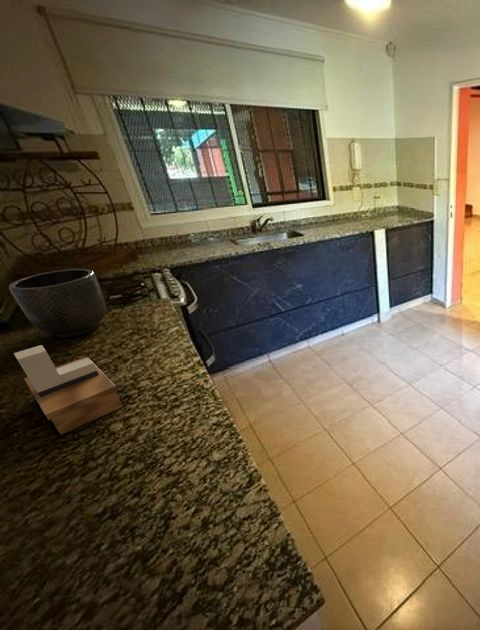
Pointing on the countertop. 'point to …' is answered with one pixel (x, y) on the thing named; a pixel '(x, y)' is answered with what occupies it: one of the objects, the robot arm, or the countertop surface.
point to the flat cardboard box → (79, 401)
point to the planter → (61, 301)
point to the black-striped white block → (52, 371)
